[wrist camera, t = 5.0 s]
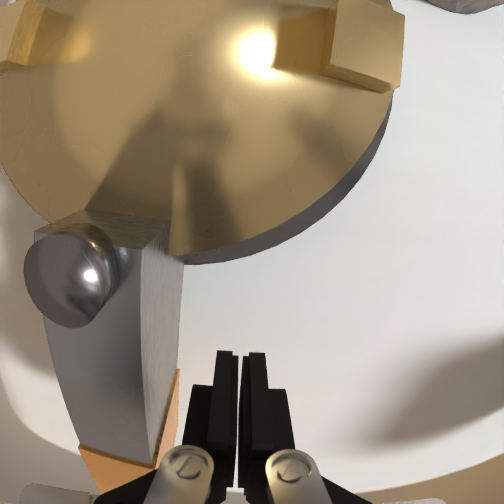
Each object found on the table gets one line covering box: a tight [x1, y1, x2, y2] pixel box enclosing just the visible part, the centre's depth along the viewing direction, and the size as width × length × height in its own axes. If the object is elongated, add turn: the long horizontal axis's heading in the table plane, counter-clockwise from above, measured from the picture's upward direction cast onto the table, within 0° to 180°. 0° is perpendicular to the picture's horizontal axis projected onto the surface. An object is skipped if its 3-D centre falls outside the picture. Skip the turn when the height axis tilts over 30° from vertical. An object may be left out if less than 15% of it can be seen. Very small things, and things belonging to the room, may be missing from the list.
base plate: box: [184, 95, 393, 265], centre depth 9 cm, size 15×15×2 cm
